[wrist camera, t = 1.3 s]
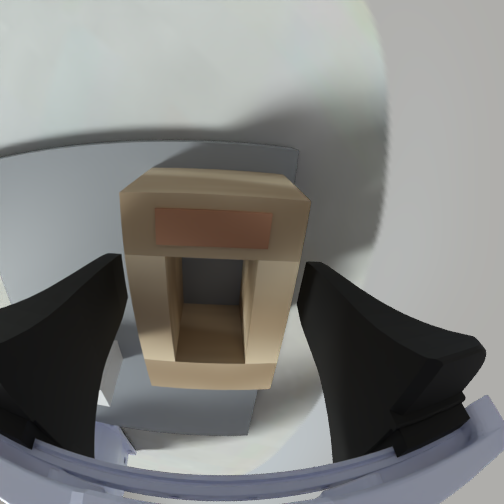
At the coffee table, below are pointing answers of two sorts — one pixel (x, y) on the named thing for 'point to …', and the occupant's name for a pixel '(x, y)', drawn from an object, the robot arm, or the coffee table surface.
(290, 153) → the board
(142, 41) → the coffee table surface
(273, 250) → the open rectangular tan frame
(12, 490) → the robot arm
